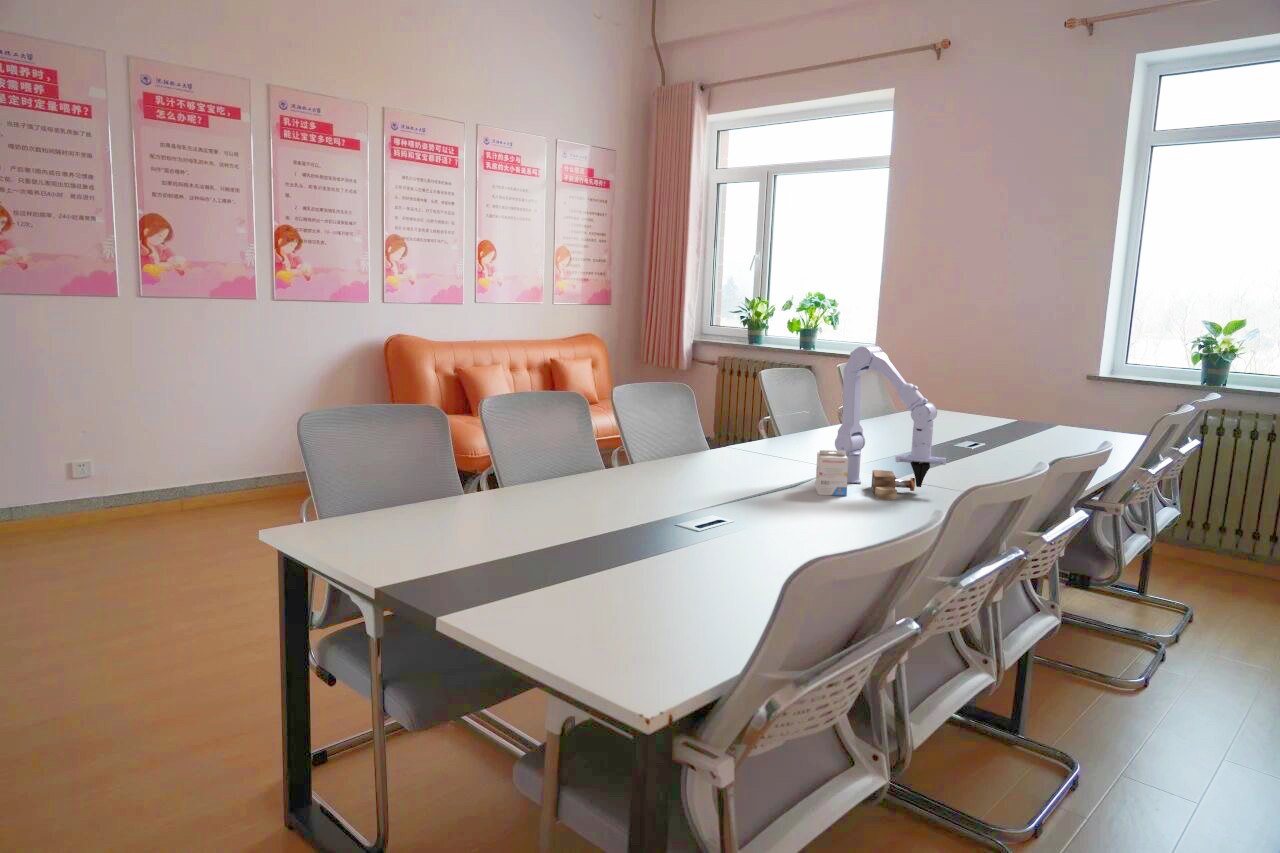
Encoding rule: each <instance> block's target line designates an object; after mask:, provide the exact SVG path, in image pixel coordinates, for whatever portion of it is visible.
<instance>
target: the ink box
mask: <svg viewBox="0 0 1280 853" xmlns="http://www.w3.org/2000/svg"><path fill="white" fill-rule="evenodd" d="M815 470H816V472H815V491H816V493H817V495H818V496H837V497H838V496H840V497H841V496H843V497H844V496H845V497H847V496H848V483H847V477H848V458H847V456H846V451H837V450H827V449H825V450H822V449H821V450H819V451H818V452H817V454H816V469H815Z"/></svg>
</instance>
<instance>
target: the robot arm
mask: <svg viewBox="0 0 1280 853" xmlns="http://www.w3.org/2000/svg"><path fill="white" fill-rule="evenodd" d="M869 369H870V370H875V371H878V372H880V373H881V374H882V375H883V376H884V377H885V378H886V379H887V380H888V381H889V383H891V385H892V386H893V387H895V389H896V390H897V391H896V396H897V397H898V399H899V400H900V401H901V402H902V404H903V405H905V407H906V408H907V409H908V411H909V412H910V417H911V419H912V421H913V428H912V438H911V439H912V441H911V450H910V451H911V452H910V454H905V455H904V454H895V463H910V466H911V468H912V471H913V475H914V478H915V487H917V488H922V486H923V482H924V478H925V476H926V475H927V474H928V471H929V470H930V468H931V465H942V466H946V465H947V458H946V457H939V456H932V445H933V444H932V443H933V434H934V432H933V431H934V420H935V419H936V418H937V415H938V409H937V408H936V405H935V404H934V403H932V402H930V401H929V400H928V399H927V398H925V397H924V396H923V395H922V393H921V392H920V391H919V387H918V385H914V384H913V383H909V382H906V380H905V378H903V377H902V374H901V373H900V372H899V371H898V370H897V368H896V367H895V365H893V363H892V361H891V360H890V359H889V356H888V355H887V353H885V352H884V351H883V349H882V348H881V347H880V346H878V345H871V346H858V347H857V348H855V349H854V350H853V351H851V352H850V354H849V358H848V360H847V363H846V364H845V365H844V368H843V380H842V381H843V383H842V385H843V386H842V387H843V389H842V422H841V425H840V426H839V428H838V429H837V436H836V439H835V440H834V447H835V449H836V451H846V456H847V458H848V477H847V484H848V483H849V484H850V483H852V484H861V483H862V481H861V477H860V470H861V456H862V454H861V453H862V449H863V448H865V446H866V439H865V436H864V433H863V432H864V431H863V427H862V425H861V422H860V421H861V418H860V417H861V388H862V387H861V386H862V384H861V383H862V382H861V381H862V376H863V374H864V373H865V372H867V371H868V370H869Z"/></svg>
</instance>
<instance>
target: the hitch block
mask: <svg viewBox="0 0 1280 853" xmlns="http://www.w3.org/2000/svg"><path fill="white" fill-rule="evenodd" d="M873 479H874V486H873ZM896 479H897V477H896V475H895V474H894V471H893V470H881V469H880V470H879V469H872V473H871V488H872V493H873V494H874V495H875V487H893V488H894V489H896V487H895V482H896Z"/></svg>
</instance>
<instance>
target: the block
mask: <svg viewBox="0 0 1280 853" xmlns="http://www.w3.org/2000/svg"><path fill="white" fill-rule="evenodd" d="M897 495H898V490H897V489H896V488H895V489H894V488H893V487H875V494H874V497H876V498H877V497H878V498H877V499H879V500H897Z"/></svg>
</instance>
